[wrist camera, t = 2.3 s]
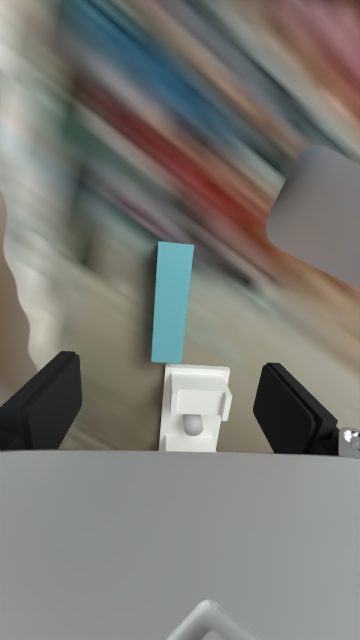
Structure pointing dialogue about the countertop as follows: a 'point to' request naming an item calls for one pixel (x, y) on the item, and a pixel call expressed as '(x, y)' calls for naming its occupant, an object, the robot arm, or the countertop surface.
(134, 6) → the countertop surface
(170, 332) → the teal rectangular stick
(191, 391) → the display cradle
